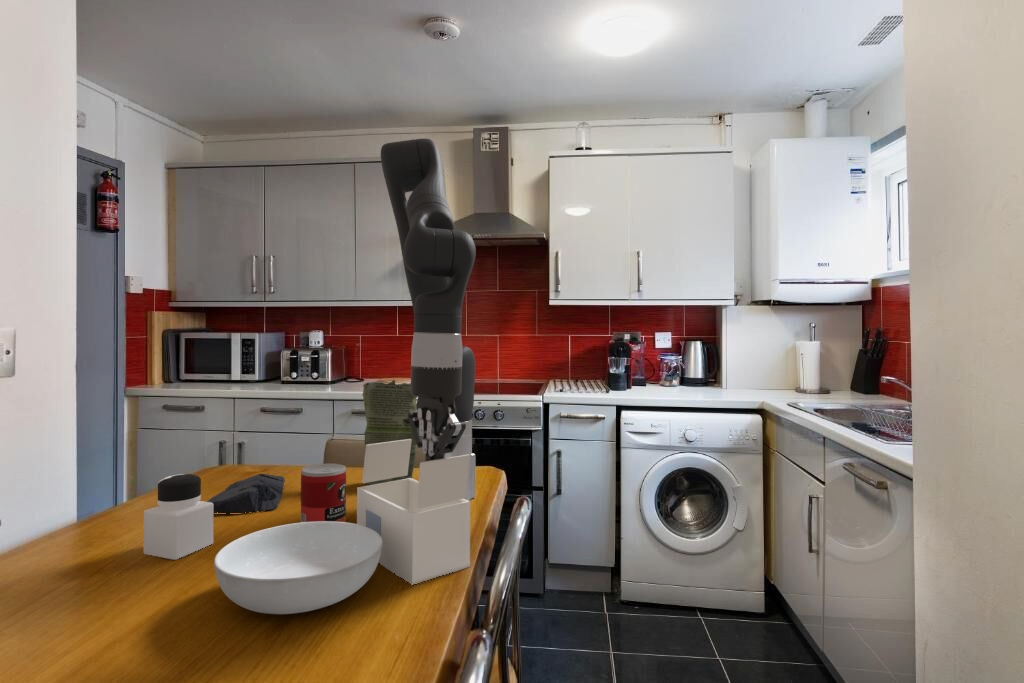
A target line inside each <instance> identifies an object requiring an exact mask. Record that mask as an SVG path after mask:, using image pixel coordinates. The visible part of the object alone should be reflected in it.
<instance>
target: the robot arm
mask: <svg viewBox="0 0 1024 683" xmlns="http://www.w3.org/2000/svg"><path fill="white" fill-rule="evenodd" d="M380 162H381V168H382V173H383V178H384V181H385V184H386V185H385V186H386V189H387V192H388V196H389V200H390V205H391V209H392V212H393V215H394V220H395V224H396V229H397V233H398V237H399V238H398V239H399V245H400V249H401V255H402V256H401V257H402V262H403V267H404V272H405V277H406V278H405V279H406V283H407V287H408V291H409V295H410V301H411V304H412V309H413V310H412V311H413V314H414V315H413V339H412V342H411V343H412V344H411V356H410V357H411V360H410V362H411V363H410V383H411V394H412V395H414V396H417V399H416V407H417V409H416V410H415V412H412V413H408V420H409V423H410V426H411V429H412V432H413V435H414V438H415V441H416V448H417V449H418V448H419V449H420V448H422V453H423V454H424V455H425V459H424V462H425V461H431V460H437V459H443V458H449V457H455V456H461V455H468V454H469V467H468V479H467V492H466V498H463V499H466V500H468V501H470V500H472V499H474V498H476V461H477V460H476V454H475V453H473V449H472V448H473V444H472V443H473V429H472V428H473V409H474V401H475V383H476V382H475V381H476V357H475V354H474V351H473V350H472V348H470V347H468V346H465V345H463V340H462V324H463V323H462V322H463V317H462V316H463V304H464V299H465V293H466V290H467V287H468V286H467V285H468V283H469V279H470V276H471V273H472V270H473V267H474V264H475V260H476V256H477V254H476V252H477V249H476V248H477V247H476V245H475V242H474V240H473V237H472V236H471V234H469V233H468V232H467V231H463V230H457V229H455V222H454V218H453V215H452V213H451V210H450V207H449V206H450V205H449V204H448V199H447V189H446V179H445V173H444V167H443V162H442V156H441V154H440V150H439V148H438V146H437V144H436V142H434V140H432V139H430V138H416V139H414V138H413V139H407V140H400V141H392V142H386V143H384V144H383V145H382V146H381V148H380ZM406 193H410V195H409V197H408V200H407V198H406Z"/></svg>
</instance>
